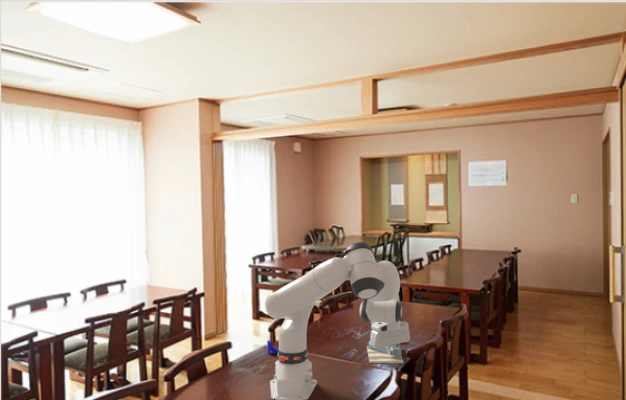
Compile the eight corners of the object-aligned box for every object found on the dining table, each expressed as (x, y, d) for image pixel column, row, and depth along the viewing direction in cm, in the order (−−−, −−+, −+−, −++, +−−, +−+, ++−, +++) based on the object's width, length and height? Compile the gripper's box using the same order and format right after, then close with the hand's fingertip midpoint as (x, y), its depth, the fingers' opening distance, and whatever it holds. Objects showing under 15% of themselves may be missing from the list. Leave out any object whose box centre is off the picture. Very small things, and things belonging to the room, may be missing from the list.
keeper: (384, 354, 207) (384, 342, 207) (393, 347, 216) (393, 336, 216) (392, 356, 205) (392, 344, 205) (401, 349, 214) (401, 337, 214)
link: (367, 347, 213) (366, 341, 213) (373, 345, 216) (372, 339, 216) (396, 357, 200) (396, 350, 200) (402, 354, 203) (402, 348, 203)
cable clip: (290, 348, 218) (290, 336, 218) (292, 351, 214) (292, 339, 214) (266, 351, 215) (266, 339, 215) (268, 354, 211) (268, 342, 211)
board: (403, 363, 196) (403, 351, 196) (369, 363, 197) (369, 351, 197) (397, 347, 216) (397, 337, 216) (366, 347, 217) (366, 337, 217)
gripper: (403, 319, 209) (404, 348, 209) (368, 325, 200) (368, 355, 200) (412, 322, 203) (413, 352, 204) (376, 329, 194) (376, 360, 194)
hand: (390, 354), depth 202 cm, fingers closed
